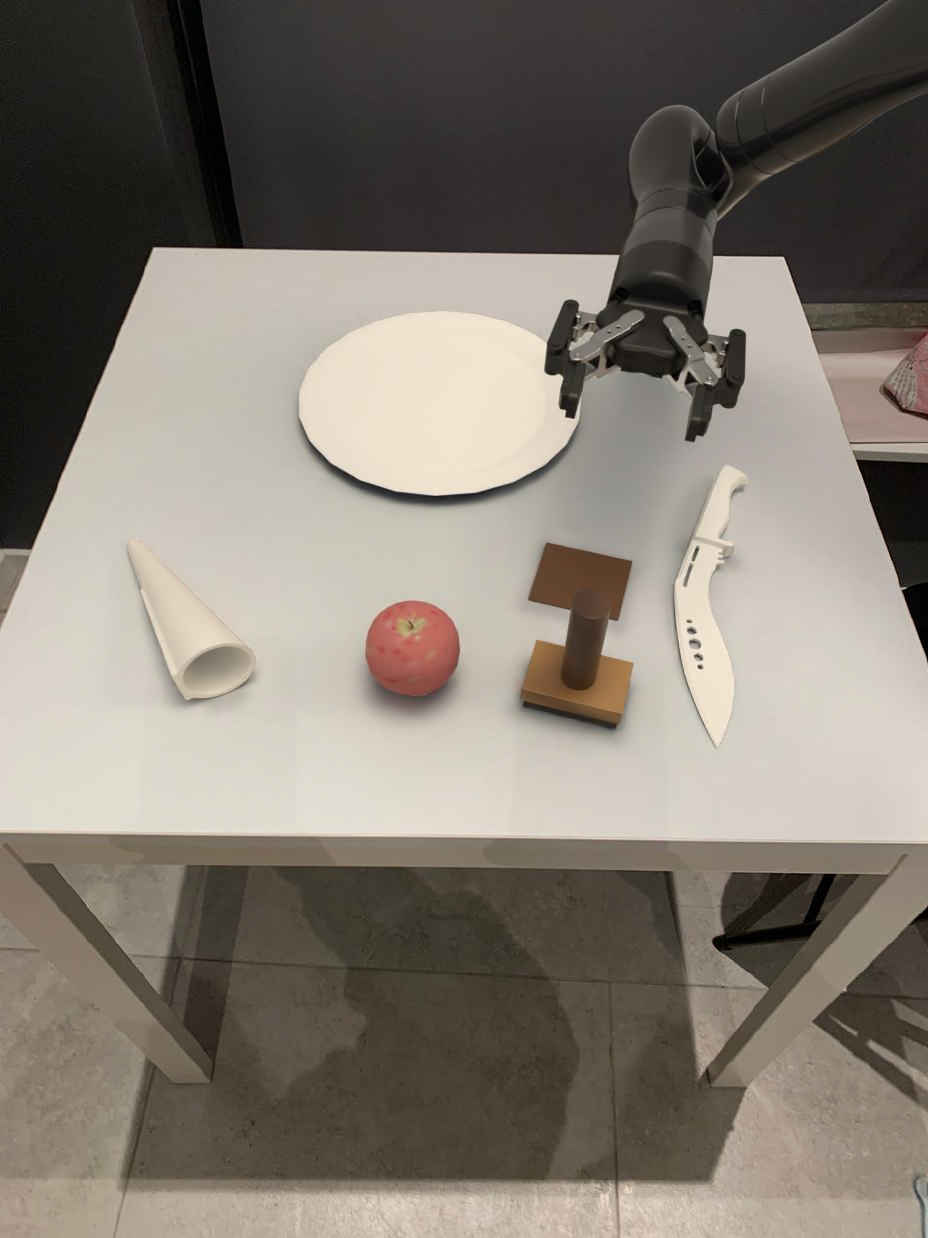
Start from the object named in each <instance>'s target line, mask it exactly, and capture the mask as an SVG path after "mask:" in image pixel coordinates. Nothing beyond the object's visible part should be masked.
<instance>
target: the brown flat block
mask: <svg viewBox="0 0 928 1238" xmlns="http://www.w3.org/2000/svg"><path fill="white" fill-rule="evenodd" d="M541 554H542V555H541V558H540V561H539V564H538V567H537V570H536V573H535V576H534V579H533V583H532V586H531V588H530V591H529V595H528V598H527V599H528V601H530V602H531V601H532V602H536V603H540V604H545V605H550V606H554V607H557V608H561V609H566V610H570V611H571V606H572V600H573V597H574V596H575V594H576V593H577V592H579V591H581V590H583V589H588V588H592V589H597V590H600V591H602V592H604V593H605V594H606V595H607V596H608V597H609V598H610V600H611V604H612V607H611V612H610V616H609V620H615V621H619V619H620V615H621V610H622V607H623V603H624V597H625V594H626V589H627V586H628V581H629V577H630V573H631V569H632V565H633V560H630V559H625V558H621V557H616V556H612V555H607V554H603V553H598V552H593V551H589V550H584V549H580V548H575V547H570V546H567V545H561V544H557V543H553V542H548V541H546V542H545V546H544V548H543V552H542V553H541Z"/></svg>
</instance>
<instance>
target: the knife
mask: <svg viewBox="0 0 928 1238" xmlns="http://www.w3.org/2000/svg"><path fill="white" fill-rule="evenodd" d="M748 484H749V479H748V476H747V475H746V474H744V472H742V471H740V470H738V469H737V468H735V467H733V466H731V465H729V464H724V465H723V466H722V467H720V469H719V470H718V472H717V473H716V475H715V477H714V479H713V481H712V483H711V486H710V489H709V491H708V494H707V497H706V500H705V502H704V505H703V507H702V510H701V512H700V515H699V518H698V520H697V523H696V526H695V528H694V531H693V534H692V536H691V538H690V543H689V546H688V547H687V551H686V553H685V556H684V558H683V560H682V564H681V567H680V569H679V571H678V574H677V577H676V580H675V582H674V586H673V590H674V593H673V600H674V612H675V625H676V633H677V639H678V640H677V641H678V646H679V655H680V658H681V662H682V663H681V665H682V668H683V671H684V675H685V678H686V679H685V680H686V682H687V685H688V687H689V690H690V693H691V696H692V699H693V701H694V704H695V706H696V708H697V711H698V713H699V715H700V718H701V720H702V722H703V724H704V727H705V728H706V731H707V732H708V735H709V736H710V738H711V740H712V742H713V744H714V746H715V747H716V749H719V746H720V744H721V743H722V741H723V738H724V736H725V735H726V731H727V728H728V725H729V722H730V720H731V716H732V710H733V705H734V700H735V689H736V688H735V686H736V685H735V675H734V671H733V666H732V662H731V658H730V655H729V652H728V648H727V646H726V643H725V641H724V639H723V636H722V632H721V631H720V628H719V626H718V624H717V622H716V619H715V617H714V613H713V610H712V606H711V604H710V593H709V590H710V583H711V578H712V576H713V573H714V572H715V570H716V569H717V566H720V567H721V566H722V567H723V566H724V565H725V560H724V558H728V557H731V556H732V555H733V554H734V552H735V545H734V542H733V541H731V540H730V541H729V540H725V539H723V538H720V537H721V535H722V534H723V533H724V531H725V530H726V528H727V526H728V524H729V520H730V515H731V497H732V494H733V492H734V491H735V489H739V488H742V487H743V488H744V487H745V486H747V485H748ZM696 549H698V550H697V554H696V557H695V560H694V561H693V560H692V558H693V557H694V554H695V550H696ZM690 566H691V567H692V568H691V570H690V573H689V576H688V580H687V583H686V586H684V582H685V579H686V576H687V573H688V570H689V568H690ZM690 629H691V630H694V632H695V633H694V634H691V633H689V632H688V630H690ZM692 641H693V642H697V643H698V644H699V645H700V647H699V648H697V649H696V648H692V647H691V645H690V642H692ZM695 656H699V657H700V658H701V660H700V661H699V660H697V659H696V658H695ZM699 667H701V669H700V668H699Z"/></svg>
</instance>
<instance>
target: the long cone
mask: <svg viewBox="0 0 928 1238" xmlns="http://www.w3.org/2000/svg"><path fill="white" fill-rule="evenodd" d="M126 551H127V555H128V556H129V559H130V562H131V564H132V568H133V570H134V573H135V576H136V578H137V581H138V584H139V586H140V588H141V589H139V591H140V594H141V597H142V600H143V603H144V605H145V608H146V611H147V613H148V616H149V619H150V621H151V624H152V628H153V630H154V632H155V636H156V638H157V641H158V643H159V647H160V649H161V651H162V656H163V658H164V660H165V662H166V666H167V669H168V671H169V673H170V677H171V679H172V680H173V682H174V684H175V685H176V687H177V689H178V690H179V691H180V694H181V695H182V697H183V698H184V700H185V701H190V700H191V699H210V698H215V697H219V696H222V695H225V694H228V693H230V692H232V691H234V690H235V689H238V687H240V686H241V685H242V684H244V683H245V682H246V681H247V680H248V679H249V678H250V677H251V675H252V674H253V672H254V670H255V667H256V663H257V658H256V654H255V652H254V650H253V649H252V648H251V647H250V646H249V645H247V643H246V642H245V641H244V640H243V639H242V638H241V637H240V636H238V634H237V633H236V632H235V631H234V630H233V629H231V628H230V627H229V626H228V625H227V623H225V622H224V621H223V620H222V619H221V618H220V617H219V616H218V615H217V614H216V613H215V612H214V611H213V610H212V609H211V608H210V607H209V606H208V605H207V604H206V603H205V602H204V601H203V600H202V599H201V598H200V597H199V596H198V595H197V594H196V593H195V592H194V591H192V589H191V588H190V587H189V586H188V585H187V584H186V583H185V582H184V581H182V580H181V578H180V577H179V576H177V574H175V572H173V570H172V569H171V568H169V567H168V566H167V564H165V563H164V561H163V560H161V558H160V557H158V555H156V554H155V552H153V551H152V550H151V549H150V548H149V547H148V546H147V545H146V544H145V543H144V542H142V541H141V540H140V539H138V538H136V537H132V536H131V537H128V538H127V540H126Z"/></svg>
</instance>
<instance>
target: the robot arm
mask: <svg viewBox="0 0 928 1238" xmlns="http://www.w3.org/2000/svg"><path fill="white" fill-rule="evenodd" d="M927 93H928V0H887V1H885V2H884V3H883V4H882V5H880V6H878V7H877V8H876V9H874V10H873V11H872V12H870V13H869V14H867V15H866V16H865V17H863V18H861V19H860V20H858V21H857V22H856V23H854V24H853V25H850V27H848V28H846V29H845V30H843V31H842V32H840V33H839V34H837V35H834V37H832V38H830V39H829V40H827V41H825V42H823V43H821V44H819V45H818V46H817V47H815V48H813V49H812V50H809V51H808V52H805V53H804V54H802V55H800V56H799V57H797V58H795V59H794V60H791V61H789V62H788V63H786V64H784V65H782V66H781V67H779V68H777V69H776V70H774V71H772V72H770V73H768V74H767V75H765V76H763V77H761V78H760V79H758V80H756V81H754V82H752V83H751V84H749V85H747V86H745V87H743V88H742V89H740V90H739V91H737V92H736V93H734V94H732V96H730V97H729V98H728V99H726V101H725V102H724V103H722V106H721V108H720V109H719V110H718V113H717V116H716V118H715V122H714V131H713V129H711V127H710V126H709V124H708V123H707V121H706V120H705V119H704V117H702V116H701V114H700V113H699V112H697V111H696V110H695V109H694V108H692V107H690V106H688V105H685V104H673V105H668V106H665V107H662V108H660V109H659V110H657V111H656V112H654V113H653V114H651V115H650V116H649V117H648V118H647V119H646V120H645V121H644V122H643V124H642V125H641V126H640V128H639V129H638V131H637V133H636V134H635V136H634V137H633V141H632V143H631V145H630V148H629V150H628V151H629V152H628V156H627V162H626V163H627V165H626V178H627V179H626V180H627V189H628V196H629V204H630V208H631V213H632V219H631V221H630V226H629V228H628V229H629V230H628V233H627V236H626V239H625V240H624V242H623V244H622V247H621V250H620V252H619V255H618V259H617V263H616V266H615V270H614V273H613V278H612V281H611V286H610V290H609V292H608V297H607V301H606V304H605V307H604V308H603V309H602V310H600V311H599V312H598V313H591V312H587V311H581V310H579V309H580V303H579V301H578V300H576V299H566V300H564V301H563V303H562V305H561V308H560V309H559V313H558V315H557V317H556V320H555V322H554V325H553V328H552V330H551V332H550V334H549V337H548V340H547V341H546V343H547V347H546V356H545V365H544V372H545V373H546V374H548V375H551V376H554V375H557V374H560V375H561V376H562V377H563V381H562V385H561V388H560V395H559V402H558V405H559V408H560V409H562V410H566V413H565V418H571V419H575V416H576V412H577V408H578V404H579V401H580V397H581V398H582V393H583V389H584V383H586V382H588V381H589V380H591V379H593V378H594V377H595V378H597V379H600V378H602V377H604V376H606V375H608V374H609V373H611V372H613V371H614V370H616V369H618V368H620V372H623V373H624V372H625V373H629V374H644V375H646V376H648V377H651V378H655V379H657V378H658V379H663V377H666V378H667V380H668V381H669V382H670V383H671V385H672V386H673V387H674V389H675V390H676V391H677V393H679V394H683V393H684V394H685V396H686V397H687V398H688V400H689V401H690V402H691V403H690V407H689V411H688V416H687V417H688V418H687V421H686V423H687V424H686V427H685V428H686V429H685V434H684V435H685V436H684V441H685V442H689V443H695V442H696V439H697V437H703V438H704V437H705V435H706V434H707V433H708V430H709V426H710V423H711V420H712V415H713V409H714V406H715V405H720V406H721V407H722V408H724V409H734V408H735V407H736V406H737V403H738V400H739V395H740V392H741V389H742V387H743V386H744V384H745V380H746V354H747V353H746V352H747V333H746V332H745V330H743V329H742V328H732V329H731V330H730V331H729V334H728V336H723V335H718V334H717V335H715V334H709V331H708V329H707V327H705V317H706V312H707V306H708V300H709V293H710V290H711V281H712V277H713V270H714V244H715V240H716V239H715V238H716V233H717V228H718V222H719V221H721V220H722V218H723V217H724V216H725V215H727V214H728V212H730V211H731V210H732V209H733V208H734V207H735V206H736V205H737V204H738V203H740V201H741V200H742V199H744V198H745V197H746V196H747V195H748V194H750V193H751V192H753V190H755V189H756V188H758V187H759V186H760V185H761V184H763V183H764V182H765V181H767V180H769V179H770V178H771V177H772V176H775V175H778V174H780V173H783V172H785V171H788V170H789V169H791V168H794V167H795V166H798V165H800V164H802V163H805V162H807V161H809V160H811V159H814V158H816V157H817V156H819V155H822V154H824V153H826V152H828V151H830V150H832V149H834V148H835V147H837V146H838V145H840V144H842V143H844V142H845V141H847V140H849V138H851V137H853V136H854V135H856V134H857V133H858V132H859V131H861V130H862V129H864V128H865V127H866V126H867V125H869V124H870V123H872V122H873V121H874V120H875V119H877V118H878V117H880V116H881V115H883V114H884V113H886V112H888V111H890V110H891V109H893V108H895V107H897V106H899V105H901V104H903V103H905V102H908V101H910V100H912V99H914V98H917V97H920V96H922V95H924V94H927ZM589 332H590V333H593V334H592V335H591V336H590V339H589V340H587V341H586V342H584V343H583V344H581V345H579V346H577V347H575V348H573V349H571V350H570V347H571V345H572V343H574V344H576V343H578V342H579V339H580V338H582V337H583V336H584V335H585V334H586V333H589ZM705 353H708V354H710V356H711V357H712V360H713V361H714V363H715V368H716V369H720V377H718V375H717V374H716V373H715V372H714V370H713V369H712V368H711V367H710V366H709V364H708V363H707V362H706V356H705Z"/></svg>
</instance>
